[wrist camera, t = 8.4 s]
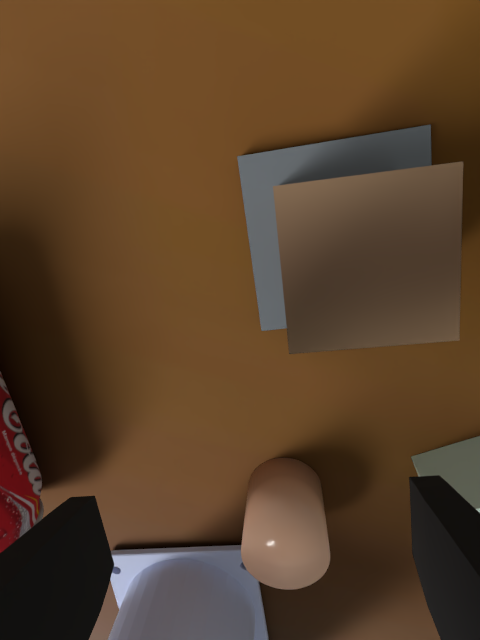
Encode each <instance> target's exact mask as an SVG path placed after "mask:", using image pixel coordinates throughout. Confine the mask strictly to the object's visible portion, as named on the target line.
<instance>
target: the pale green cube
mask: <svg viewBox="0 0 480 640" xmlns="http://www.w3.org/2000/svg"><path fill="white" fill-rule="evenodd" d="M411 458H412V461H413V463H414V466H415V468H416V471H417V474H418V476H435V475H439V476H441V477H442V478H443V479H444V480H445V481H446V482H447V483H449V484H450V485H451V486H452V487H453V488H454V489H455V490H456V491H457V492H458V493H459V494H460V495H461V496H462V497H463V498H464V499H465V500H466V501H468V502H469V503H470V504H471V505H472V506H473V507H474V508H475V509H476V510H477V511H478V512H479V513H480V436H478V437H474V438H471V439H468V440H464V441H461V442H458V443H454V444H451V445H448V446H444V447H441V448H438V449H434V450H431V451H428V452H424V453H421V454H418V455H414V456H411Z"/></svg>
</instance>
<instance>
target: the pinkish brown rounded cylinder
mask: <svg viewBox="0 0 480 640" xmlns="http://www.w3.org/2000/svg"><path fill="white" fill-rule="evenodd" d="M241 557H242V561H243V564H244V566H245V567H246V569H247V571H248V572H249V573H250V574H251V575H252V576H253V577H254V578H255V579H257V580H258V581H260V582H261V583H263V584H265V585H268V586H270V587H273V588H278V589H287V590H291V589H299V588H303V587H307V586H309V585H311V584H313V583H315V582H316V581H318V580H319V579H320V578H321V577H322V576H323V575H324V574H325V572H326V571H327V569H328V566H329V563H330V548H329V540H328V532H327V524H326V517H325V509H324V501H323V493H322V486H321V482H320V479H319V477H318V475H317V474H316V472H315V471H314V470H313V469H312V468H311V467H310V466H308V465H307V464H305V463H303V462H301V461H299V460H296V459H292V458H275V459H271V460H268V461H266V462H264V463H262V464H261V465H259V466H258V467H257V468H256V469H255V470H254V472H253V473H252V475H251V477H250V480H249V485H248V494H247V502H246V511H245V519H244V528H243V536H242V545H241Z"/></svg>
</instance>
